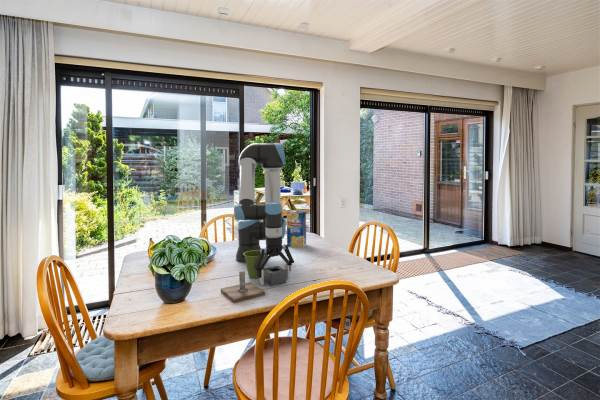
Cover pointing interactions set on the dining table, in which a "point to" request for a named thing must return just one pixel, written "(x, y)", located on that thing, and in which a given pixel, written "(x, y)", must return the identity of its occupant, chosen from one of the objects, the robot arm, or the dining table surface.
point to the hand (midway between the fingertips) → (274, 281)
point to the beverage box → (296, 228)
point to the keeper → (242, 290)
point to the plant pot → (252, 262)
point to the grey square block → (275, 276)
